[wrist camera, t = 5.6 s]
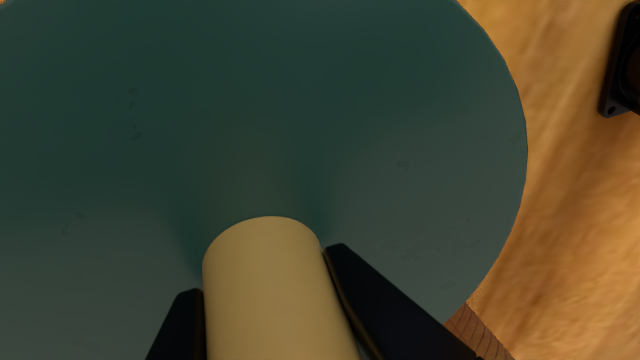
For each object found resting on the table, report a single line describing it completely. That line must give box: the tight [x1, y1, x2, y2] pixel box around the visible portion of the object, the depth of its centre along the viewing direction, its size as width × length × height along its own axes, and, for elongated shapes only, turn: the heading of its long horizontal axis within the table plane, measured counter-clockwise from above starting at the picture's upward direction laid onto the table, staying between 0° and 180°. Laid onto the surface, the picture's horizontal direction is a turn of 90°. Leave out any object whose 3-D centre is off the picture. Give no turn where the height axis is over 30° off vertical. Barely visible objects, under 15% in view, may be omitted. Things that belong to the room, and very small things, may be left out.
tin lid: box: [0, 0, 528, 360], centre depth 8 cm, size 12×12×5 cm
